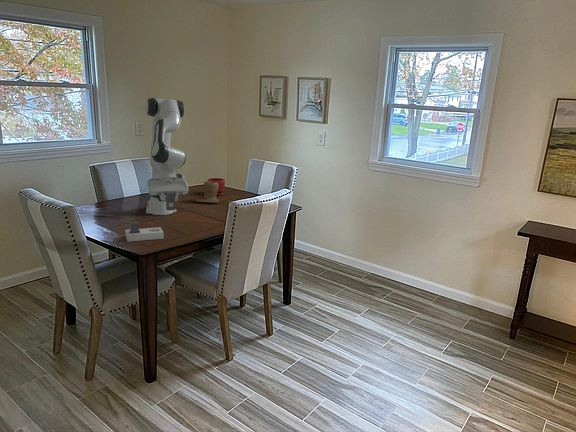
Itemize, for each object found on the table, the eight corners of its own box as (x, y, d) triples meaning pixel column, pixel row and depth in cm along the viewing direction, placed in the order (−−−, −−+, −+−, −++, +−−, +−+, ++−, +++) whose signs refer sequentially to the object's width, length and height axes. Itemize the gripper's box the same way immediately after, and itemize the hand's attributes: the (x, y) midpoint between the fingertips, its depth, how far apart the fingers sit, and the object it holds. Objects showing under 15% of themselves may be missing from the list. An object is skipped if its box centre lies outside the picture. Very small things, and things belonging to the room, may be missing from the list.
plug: (166, 209, 227) (165, 192, 224) (173, 208, 229) (173, 192, 226) (167, 210, 224) (167, 193, 222) (175, 210, 226) (175, 193, 224)
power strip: (123, 230, 237) (122, 215, 234) (157, 227, 245) (157, 213, 242) (127, 241, 220) (127, 225, 218) (163, 238, 228) (163, 223, 226)
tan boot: (220, 200, 313) (220, 180, 309) (217, 204, 302) (218, 183, 297) (199, 199, 312) (199, 179, 308) (196, 203, 301) (196, 182, 297)
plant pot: (228, 194, 332) (228, 179, 329) (216, 197, 322) (217, 181, 318) (215, 191, 339) (215, 176, 336) (203, 194, 328) (203, 178, 325)
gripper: (147, 175, 223) (150, 198, 218) (186, 175, 232) (191, 197, 227) (145, 182, 228) (149, 204, 223) (184, 181, 237) (188, 203, 232)
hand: (170, 200), depth 225 cm, fingers closed on plug, 4 cm apart
